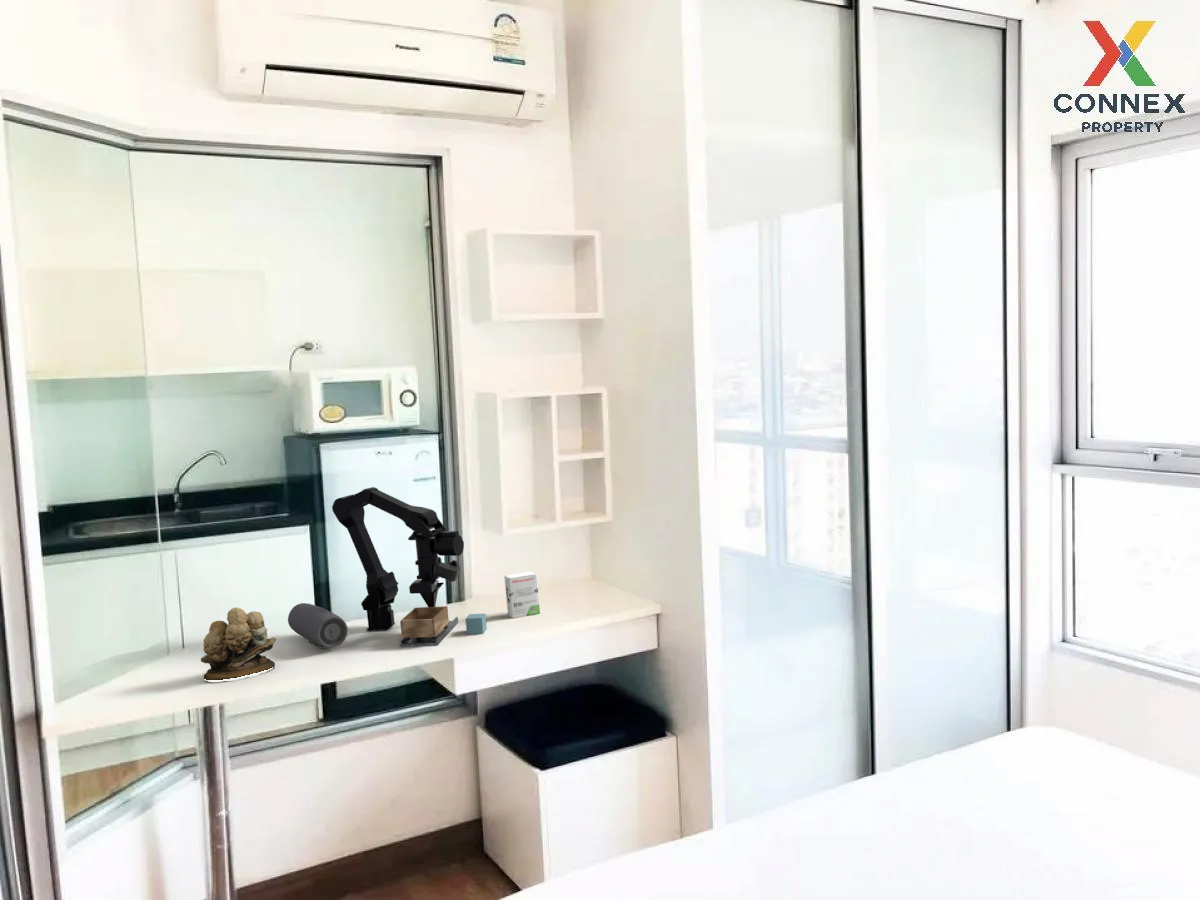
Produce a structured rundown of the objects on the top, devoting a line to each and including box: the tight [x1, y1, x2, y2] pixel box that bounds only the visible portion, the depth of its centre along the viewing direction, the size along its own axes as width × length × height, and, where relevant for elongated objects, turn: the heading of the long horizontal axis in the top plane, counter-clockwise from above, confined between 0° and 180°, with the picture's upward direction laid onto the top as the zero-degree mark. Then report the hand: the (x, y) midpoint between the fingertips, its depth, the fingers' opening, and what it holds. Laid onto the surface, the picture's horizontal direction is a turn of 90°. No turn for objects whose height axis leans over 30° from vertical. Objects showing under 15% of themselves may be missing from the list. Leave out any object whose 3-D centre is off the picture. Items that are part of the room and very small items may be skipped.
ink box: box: [504, 571, 541, 619], centre depth 278 cm, size 9×5×12 cm, turn 112°
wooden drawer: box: [399, 605, 450, 641], centre depth 261 cm, size 9×13×6 cm
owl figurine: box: [200, 607, 277, 680], centre depth 242 cm, size 18×12×17 cm, turn 117°
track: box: [399, 616, 459, 647], centre depth 265 cm, size 10×21×2 cm, turn 174°
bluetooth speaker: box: [287, 602, 349, 649], centre depth 264 cm, size 23×9×10 cm, turn 37°
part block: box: [465, 613, 488, 635], centre depth 264 cm, size 4×4×4 cm
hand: (432, 610), depth 269 cm, fingers closed
